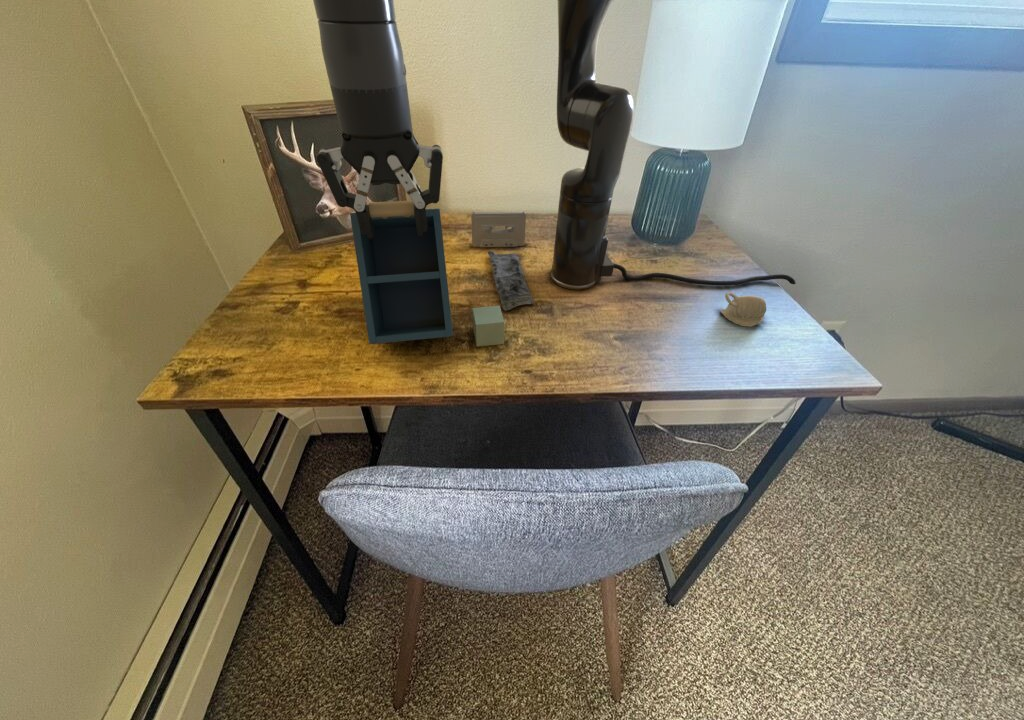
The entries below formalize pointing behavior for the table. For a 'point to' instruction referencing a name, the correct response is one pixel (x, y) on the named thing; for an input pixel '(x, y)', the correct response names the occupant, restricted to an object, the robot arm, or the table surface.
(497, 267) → the grey cloth
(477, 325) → the block
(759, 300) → the decorative ornament
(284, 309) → the table surface
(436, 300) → the shelf
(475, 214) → the cassette
